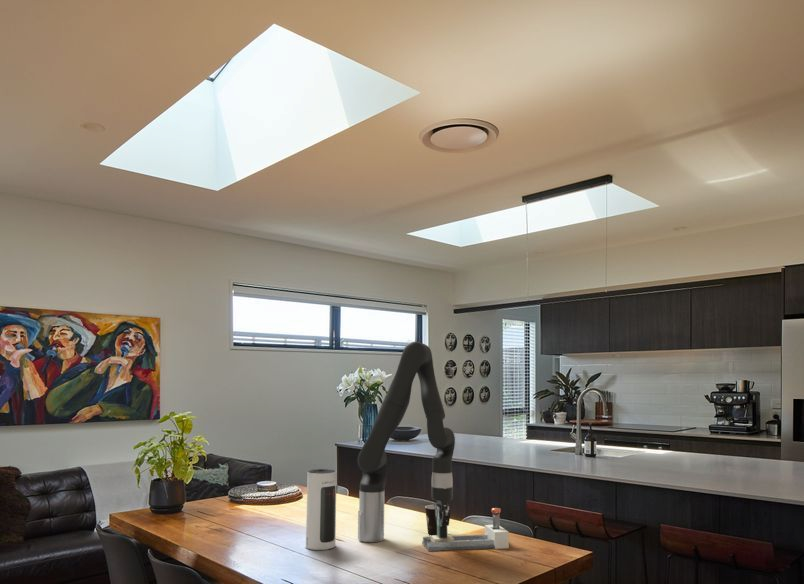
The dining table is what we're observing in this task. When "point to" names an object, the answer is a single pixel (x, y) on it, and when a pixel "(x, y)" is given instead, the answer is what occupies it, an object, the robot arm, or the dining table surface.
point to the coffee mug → (431, 520)
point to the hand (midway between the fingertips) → (442, 535)
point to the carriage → (437, 537)
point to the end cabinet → (498, 536)
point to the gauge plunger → (496, 518)
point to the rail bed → (460, 543)
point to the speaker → (321, 509)
